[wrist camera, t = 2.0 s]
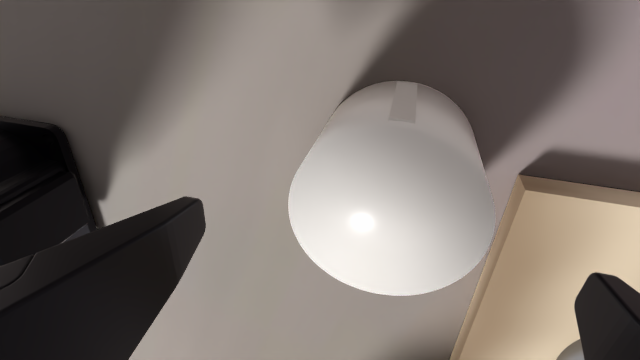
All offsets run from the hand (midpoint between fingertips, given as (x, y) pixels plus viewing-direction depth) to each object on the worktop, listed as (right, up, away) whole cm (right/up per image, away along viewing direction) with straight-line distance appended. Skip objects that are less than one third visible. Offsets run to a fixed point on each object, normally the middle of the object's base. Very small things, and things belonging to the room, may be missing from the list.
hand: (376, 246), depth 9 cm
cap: (+1, +2, +4) cm, 5 cm away
